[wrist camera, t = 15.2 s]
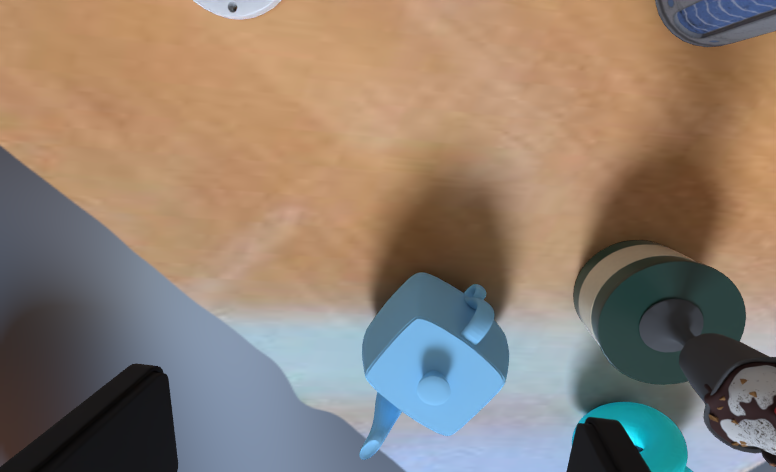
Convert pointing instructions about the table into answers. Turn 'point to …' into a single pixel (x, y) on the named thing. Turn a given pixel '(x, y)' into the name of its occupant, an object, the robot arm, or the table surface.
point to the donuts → (648, 434)
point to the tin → (650, 304)
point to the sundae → (719, 376)
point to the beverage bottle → (717, 20)
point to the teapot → (432, 357)
